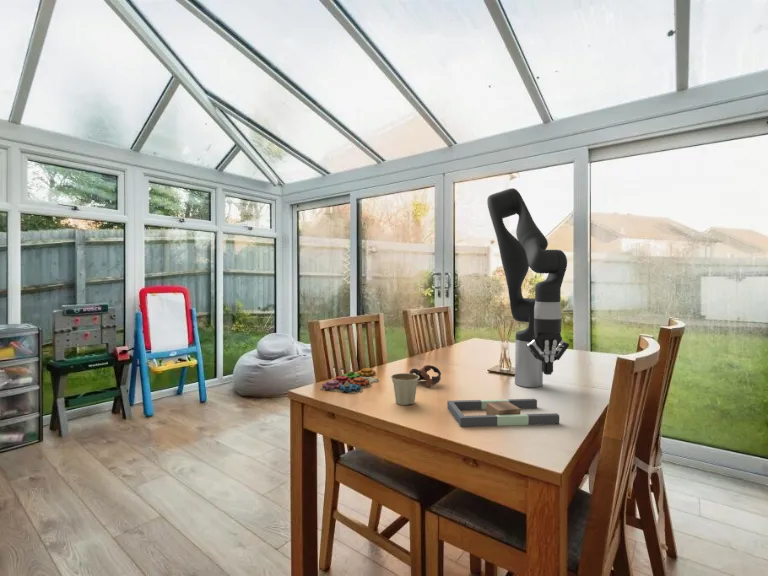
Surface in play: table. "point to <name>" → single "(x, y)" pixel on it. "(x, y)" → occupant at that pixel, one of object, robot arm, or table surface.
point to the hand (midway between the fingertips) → (547, 374)
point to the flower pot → (405, 387)
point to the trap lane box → (498, 419)
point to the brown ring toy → (424, 376)
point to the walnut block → (501, 408)
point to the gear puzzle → (351, 382)
